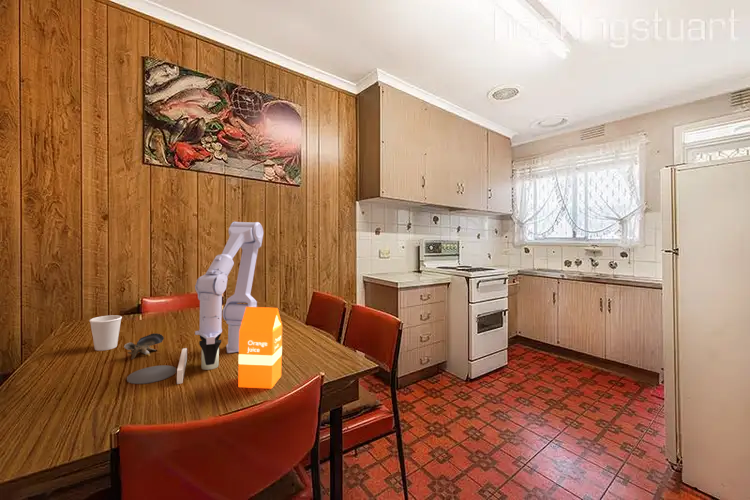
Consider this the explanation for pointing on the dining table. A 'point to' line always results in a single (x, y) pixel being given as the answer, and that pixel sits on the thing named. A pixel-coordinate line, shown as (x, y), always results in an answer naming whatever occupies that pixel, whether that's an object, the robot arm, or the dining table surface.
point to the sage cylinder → (212, 366)
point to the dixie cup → (105, 331)
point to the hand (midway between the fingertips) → (210, 361)
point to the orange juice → (260, 348)
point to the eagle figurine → (144, 344)
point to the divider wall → (181, 366)
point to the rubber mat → (151, 374)
